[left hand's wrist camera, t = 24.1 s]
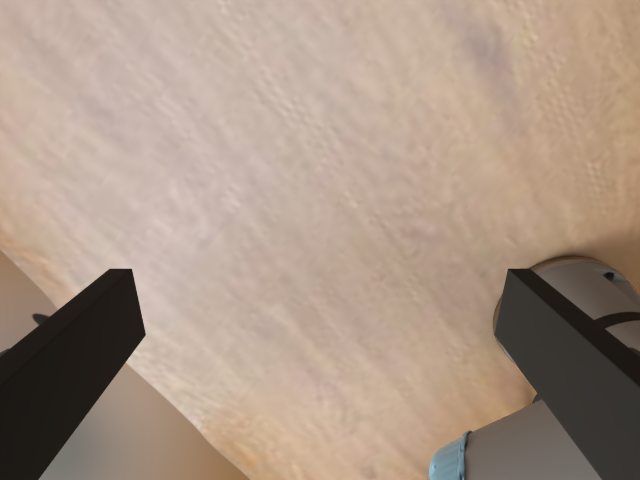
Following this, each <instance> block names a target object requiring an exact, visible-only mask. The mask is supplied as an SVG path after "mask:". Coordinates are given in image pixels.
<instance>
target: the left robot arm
mask: <svg viewBox="0 0 640 480" xmlns="http://www.w3.org/2000/svg"><path fill="white" fill-rule="evenodd" d="M493 329H494V335H495V338H496V340H497V342H498V344H499V346H500V347H501V348H502V350H503V351H504V352H505V354H506V355H507V356H508V358H509V359H510V360H511V361H512V362H513V363H515V364H516V365H517V366H518V368H519V369H520V370H521V372H522V373H523V374H524V376H525V377H526V378H527V380H528V381H529V382H530V384H531V385H532V386H533V388H534V389H535V390H536V392H537V393H538V394H537V395H536V396H535V398H534V400H533V403H532V404H531V405H529V406H527V407H525V408H523V409H521V410H519V411H517V412H515V413H513V414H511V415H508V416H506V417H504V418H502V419H500V420H497V421H495V422H493V423H491V424H489V425H487V426H484V427H482V428H480V429H478V430H476V431H474V432H472V431H467V432H465V433H464V434H463V436H462V437H461V438H459V439H457V440H455V441H454V442H452V443H450V444H448V445H446V446H444V447H443V448H441V449H439V450H438V451H437V452H436V453H435V454H434V456H433V458H432V460H431V463H430V468H429V480H640V296H639V294H638V293H637V292H636V290H635V289H634V288H633V286H632V285H631V284H630V283H629V281H628V280H627V279H626V278H625V277H624V276H623V275H622V274H620V273H619V272H618V271H616V270H614V269H613V268H611V267H609V266H608V265H606V264H604V263H602V262H600V261H598V260H595V259H592V258H588V257H581V256H568V257H560V258H555V259H551V260H548V261H545V262H543V263H540V264H538V265H536V266H534V267H532V268H530V269H508V272H507V277H506V282H505V286H504V291H503V295H502V296H501V298H500V300H499V302H498V304H497V306H496V309H495V313H494V318H493ZM145 335H146V334H145V329H144V324H143V319H142V315H141V310H140V305H139V301H138V296H137V291H136V286H135V282H134V277H133V272H132V269H109V270H108V271H106V272H105V273H104V274H103V275H101V276H100V277H99V278H98V279H96V280H95V281H94V282H93V283H91V284H90V285H89V286H88V287H87V288H85V289H84V290H83V291H82V292H80V293H79V294H78V295H77V296H75V297H74V298H73V299H72V300H70V301H69V302H68V303H67V304H65V305H64V306H63V307H62V308H60V309H59V310H58V311H57V312H55V313H54V314H53V315H52V316H50V317H49V318H48V319H47V320H45V321H44V322H43V323H42V324H40V325H39V326H38V327H37V328H35V329H34V330H33V331H32V332H30V333H29V334H28V335H27V336H25V337H24V338H23V339H22V340H20V341H19V342H18V343H17V344H15V345H14V346H13V347H12V348H10V349H6V350H5V351H3V352H1V353H0V480H38V479H39V478H40V477H41V475H42V474H43V473H44V471H45V470H46V468H47V467H48V466H49V464H50V463H51V462H52V460H53V459H54V458H55V456H56V455H57V454H58V452H59V451H60V450H61V448H62V447H63V446H64V444H65V443H66V441H67V440H68V439H69V438H70V436H71V435H72V433H73V432H74V431H75V429H76V428H77V427H78V425H79V424H80V423H81V421H82V420H83V419H84V417H85V416H86V415H87V413H88V412H89V411H90V409H91V408H92V407H93V405H94V404H95V403H96V401H97V400H98V398H99V397H100V396H101V394H102V393H103V392H104V390H105V389H106V388H107V386H108V385H109V384H110V382H111V381H112V380H113V378H114V377H115V376H116V374H117V373H118V371H119V370H120V369H121V367H122V366H123V365H124V363H125V362H126V361H127V359H128V358H129V357H130V355H131V354H132V353H133V351H134V350H135V349H136V347H137V346H138V345H139V343H140V342H141V341H142V339H143V338H144V337H145Z"/></svg>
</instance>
